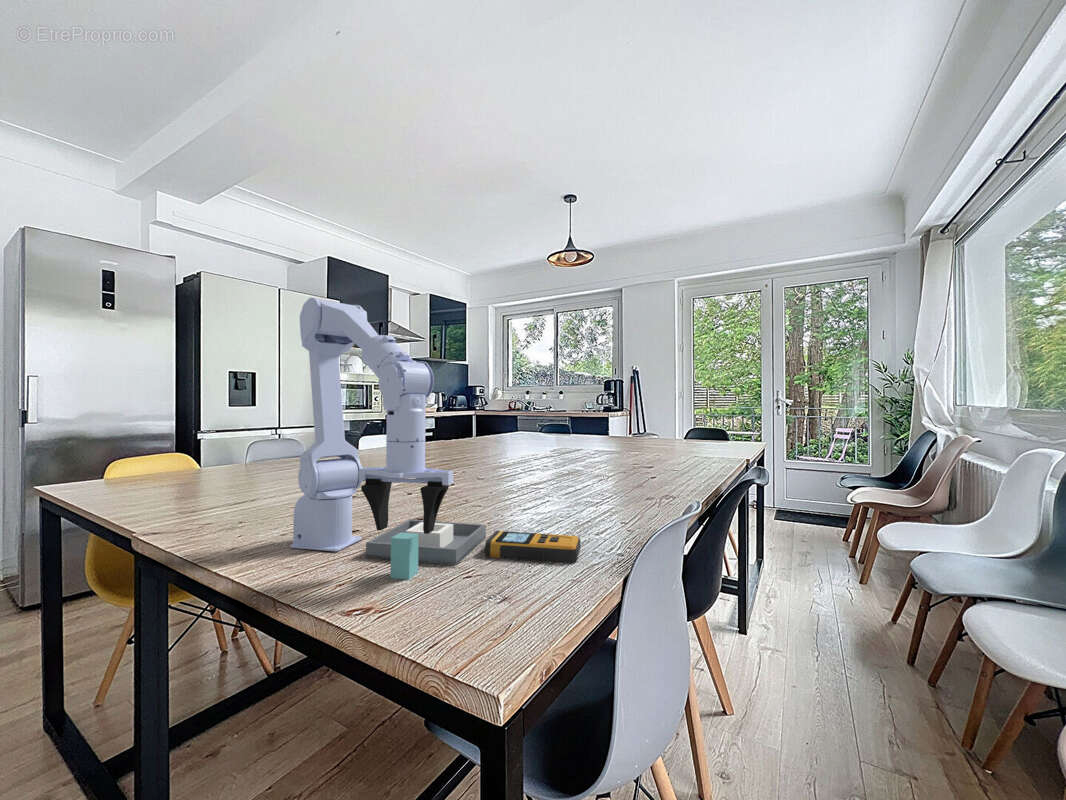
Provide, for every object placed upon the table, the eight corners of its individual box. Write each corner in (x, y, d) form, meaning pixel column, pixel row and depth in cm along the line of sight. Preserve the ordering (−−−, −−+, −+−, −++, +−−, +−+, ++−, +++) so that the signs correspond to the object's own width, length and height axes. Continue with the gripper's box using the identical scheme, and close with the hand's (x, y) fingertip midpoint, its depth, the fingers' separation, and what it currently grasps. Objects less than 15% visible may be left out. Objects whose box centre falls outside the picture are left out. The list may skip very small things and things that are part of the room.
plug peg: (390, 578, 73) (391, 537, 73) (399, 571, 76) (400, 532, 76) (409, 579, 72) (409, 539, 72) (418, 572, 75) (418, 533, 75)
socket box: (365, 557, 82) (366, 536, 82) (408, 532, 97) (409, 514, 97) (456, 565, 78) (456, 543, 78) (485, 537, 94) (485, 519, 94)
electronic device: (576, 568, 79) (576, 547, 79) (484, 560, 82) (484, 540, 82) (580, 552, 88) (581, 533, 88) (496, 545, 91) (497, 527, 91)
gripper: (347, 441, 71) (346, 534, 71) (440, 444, 68) (440, 540, 68) (372, 437, 78) (372, 522, 78) (458, 440, 75) (457, 528, 75)
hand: (405, 530), depth 74 cm, fingers open, 7 cm apart
